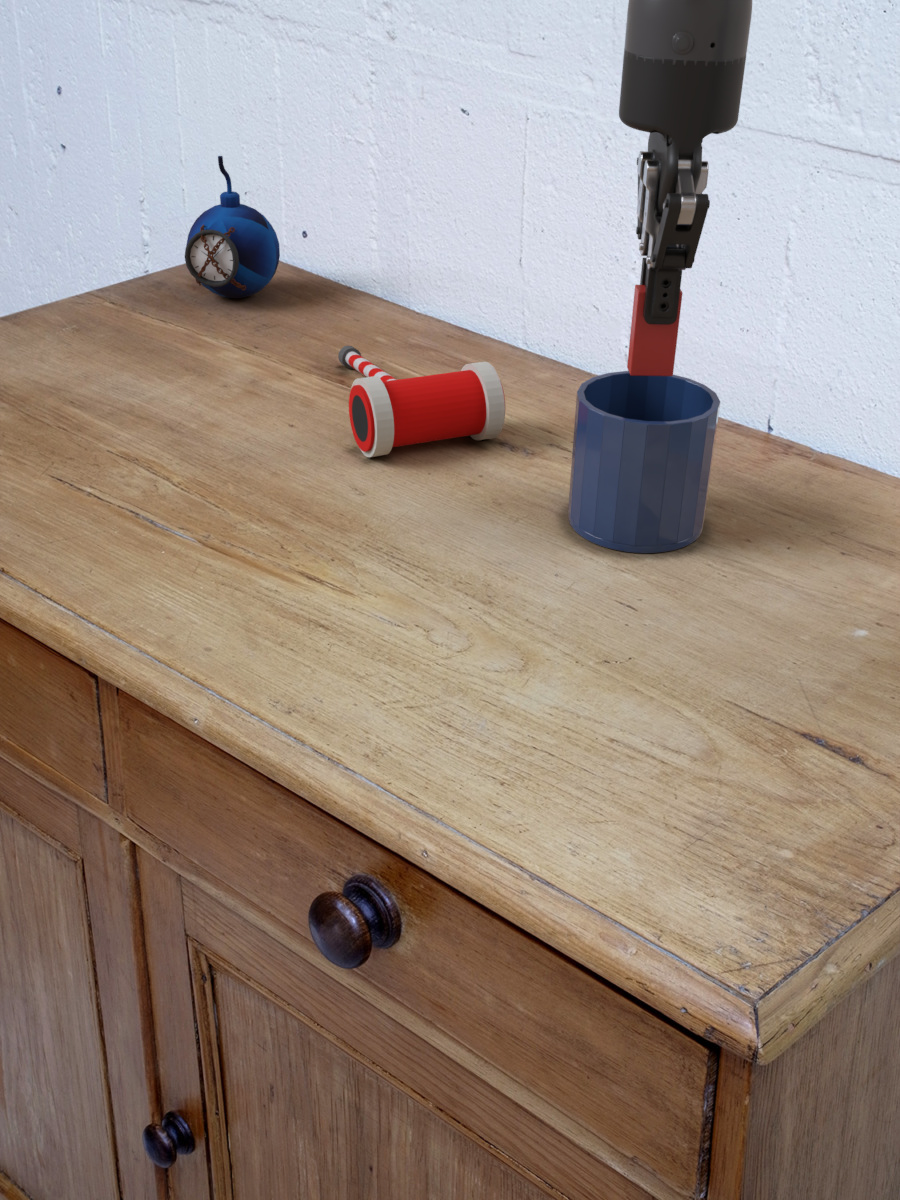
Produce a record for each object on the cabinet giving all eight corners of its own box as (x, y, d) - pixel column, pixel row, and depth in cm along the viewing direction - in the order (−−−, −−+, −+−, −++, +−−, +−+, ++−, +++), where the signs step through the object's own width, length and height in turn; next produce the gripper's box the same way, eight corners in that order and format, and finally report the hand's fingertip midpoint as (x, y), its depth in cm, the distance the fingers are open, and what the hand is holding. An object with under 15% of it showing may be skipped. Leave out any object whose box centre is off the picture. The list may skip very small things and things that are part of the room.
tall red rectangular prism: (669, 368, 93) (683, 241, 88) (673, 376, 91) (687, 248, 87) (626, 367, 93) (639, 240, 88) (630, 375, 91) (642, 247, 87)
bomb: (170, 307, 138) (157, 161, 131) (213, 278, 147) (203, 139, 140) (257, 317, 136) (248, 169, 129) (294, 287, 145) (289, 146, 138)
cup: (689, 492, 103) (704, 371, 98) (714, 554, 94) (732, 424, 89) (562, 491, 102) (570, 369, 97) (575, 553, 94) (586, 423, 89)
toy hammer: (287, 373, 123) (284, 306, 120) (404, 358, 127) (404, 293, 124) (374, 470, 105) (373, 395, 102) (506, 449, 109) (510, 376, 106)
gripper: (771, 65, 75) (731, 353, 84) (723, 31, 87) (692, 287, 96) (641, 62, 75) (615, 351, 84) (610, 29, 87) (590, 285, 96)
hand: (656, 316), depth 90 cm, fingers closed on tall red rectangular prism, 1 cm apart
